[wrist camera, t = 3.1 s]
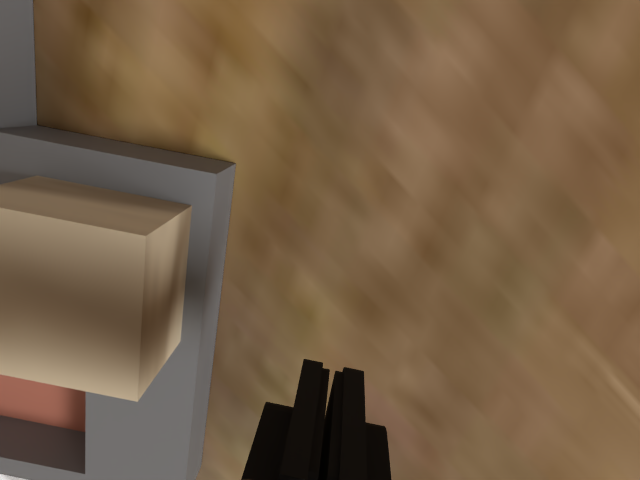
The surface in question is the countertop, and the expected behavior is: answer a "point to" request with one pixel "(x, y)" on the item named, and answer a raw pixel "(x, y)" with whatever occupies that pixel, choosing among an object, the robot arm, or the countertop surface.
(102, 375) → the birch block
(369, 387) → the countertop surface
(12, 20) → the board
